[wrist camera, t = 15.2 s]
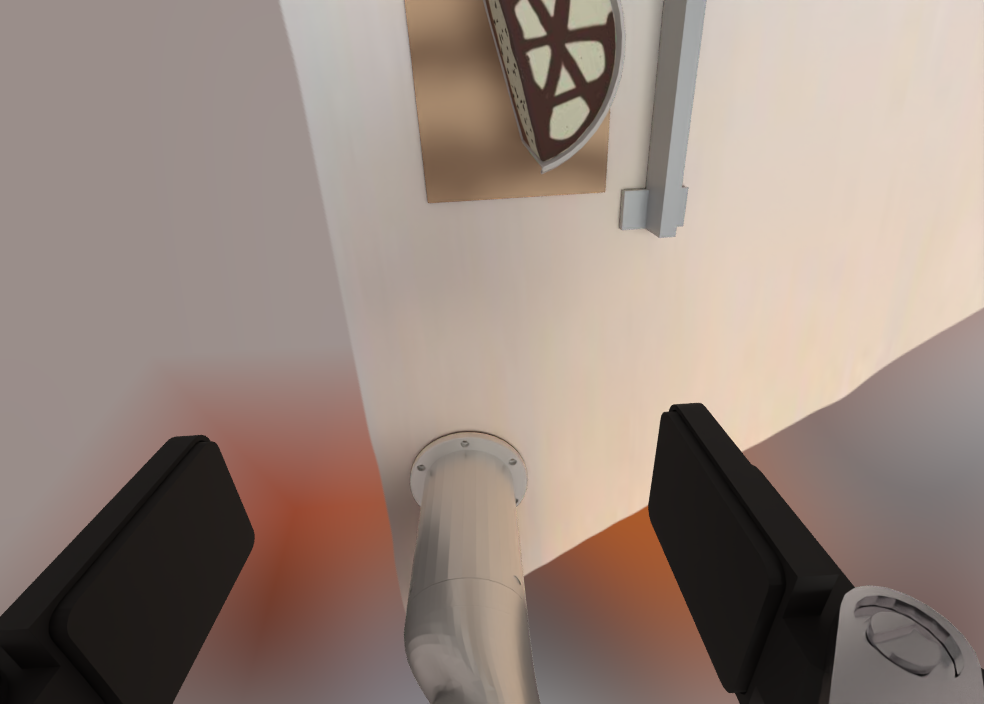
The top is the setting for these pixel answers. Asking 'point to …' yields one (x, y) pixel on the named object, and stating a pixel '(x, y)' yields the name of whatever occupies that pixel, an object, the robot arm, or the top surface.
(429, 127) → the walnut board
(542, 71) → the food container
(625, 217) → the grey footed rail
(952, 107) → the top surface
